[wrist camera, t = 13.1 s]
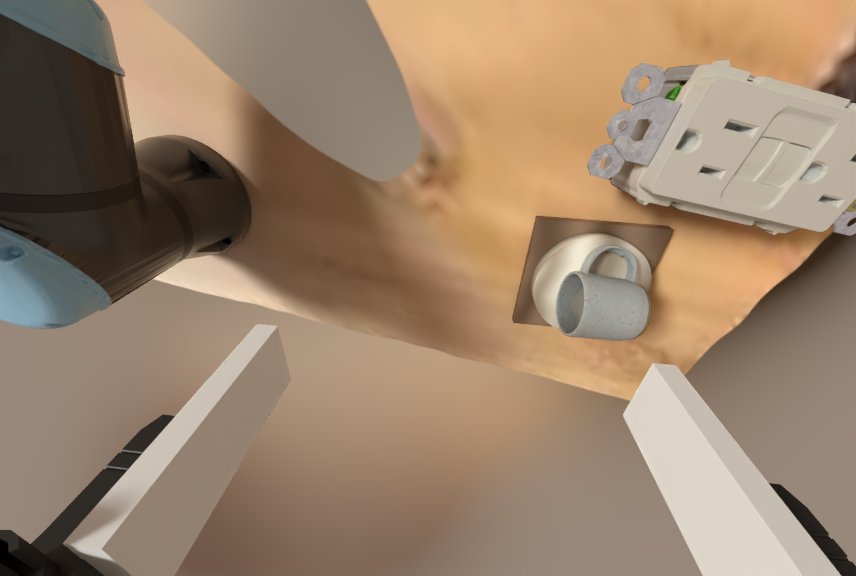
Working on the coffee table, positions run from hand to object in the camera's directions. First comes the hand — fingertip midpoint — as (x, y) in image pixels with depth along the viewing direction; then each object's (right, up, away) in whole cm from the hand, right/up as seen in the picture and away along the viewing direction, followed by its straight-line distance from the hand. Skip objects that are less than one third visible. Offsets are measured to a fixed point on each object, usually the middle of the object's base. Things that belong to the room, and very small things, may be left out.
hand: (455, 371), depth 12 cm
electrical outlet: (+29, +19, +23) cm, 41 cm away
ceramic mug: (+20, +4, +29) cm, 35 cm away
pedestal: (+20, +5, +32) cm, 38 cm away
